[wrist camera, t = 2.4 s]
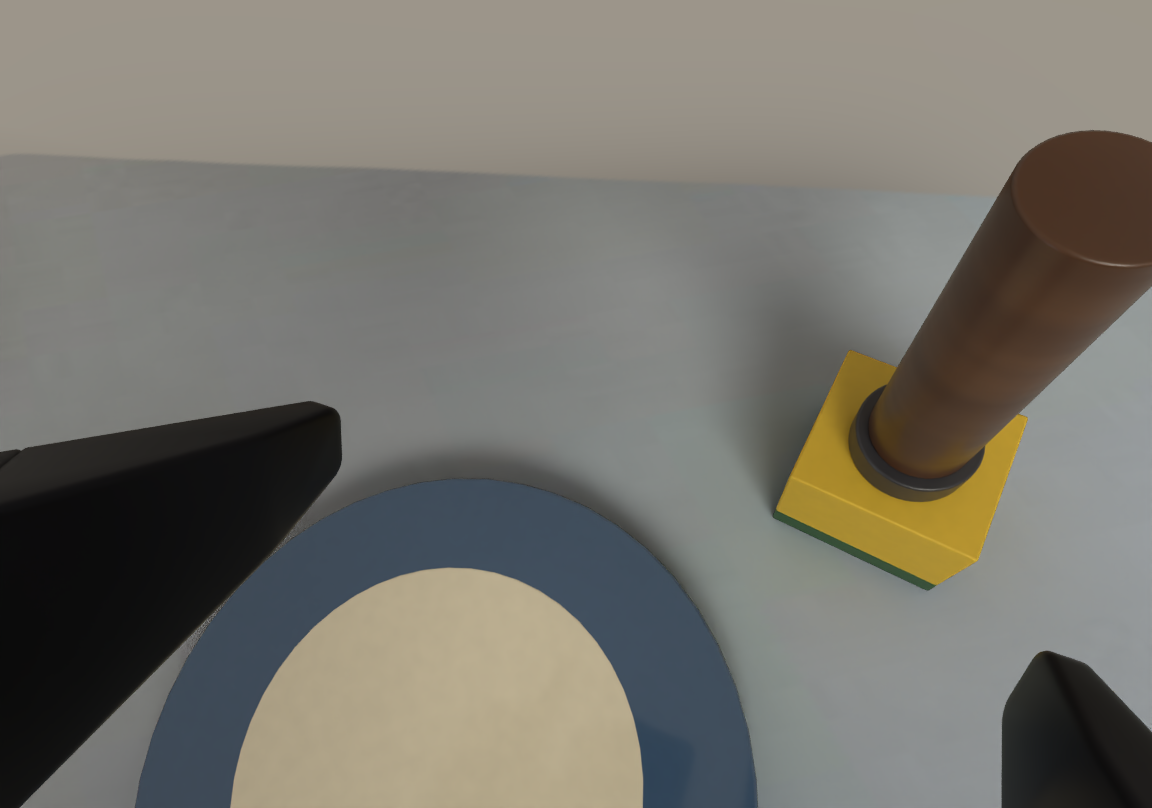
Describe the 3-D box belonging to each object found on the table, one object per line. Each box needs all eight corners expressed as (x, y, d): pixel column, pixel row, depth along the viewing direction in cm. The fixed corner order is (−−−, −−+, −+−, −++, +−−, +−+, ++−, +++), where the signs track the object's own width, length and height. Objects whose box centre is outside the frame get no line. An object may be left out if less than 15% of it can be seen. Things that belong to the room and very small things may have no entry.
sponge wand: (927, 591, 21) (1282, 381, 9) (771, 517, 23) (885, 250, 10) (974, 467, 23) (1335, 134, 10) (824, 406, 24) (979, 52, 12)
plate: (897, 923, 18) (912, 935, 17) (261, 1388, 16) (231, 1436, 15) (556, 399, 26) (551, 384, 25) (99, 666, 24) (71, 662, 23)
